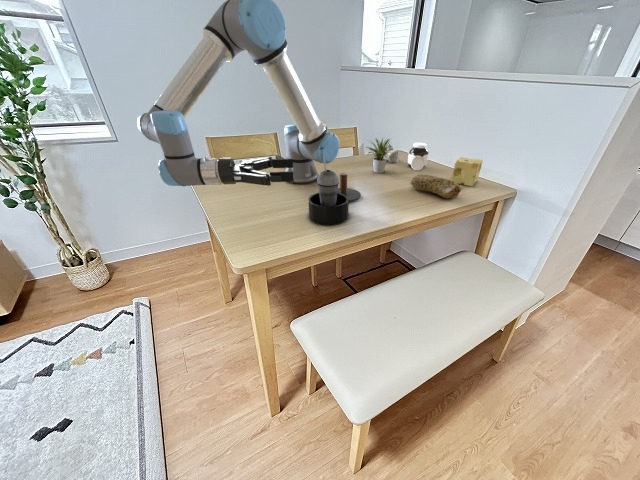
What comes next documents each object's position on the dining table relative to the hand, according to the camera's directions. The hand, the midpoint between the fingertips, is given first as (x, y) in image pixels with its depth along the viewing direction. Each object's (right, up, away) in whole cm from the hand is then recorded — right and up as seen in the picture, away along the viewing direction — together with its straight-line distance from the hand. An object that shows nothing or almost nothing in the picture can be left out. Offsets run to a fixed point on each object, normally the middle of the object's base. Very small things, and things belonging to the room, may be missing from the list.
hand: (293, 169), depth 85 cm
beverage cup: (+10, -13, +11) cm, 20 cm away
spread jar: (+54, +22, +63) cm, 86 cm away
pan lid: (+15, -1, +27) cm, 31 cm away
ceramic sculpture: (+39, +30, +74) cm, 89 cm away
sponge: (+53, +1, +33) cm, 63 cm away
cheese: (+72, +10, +46) cm, 86 cm away
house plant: (+33, +19, +58) cm, 69 cm away
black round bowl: (+10, -13, +11) cm, 20 cm away
